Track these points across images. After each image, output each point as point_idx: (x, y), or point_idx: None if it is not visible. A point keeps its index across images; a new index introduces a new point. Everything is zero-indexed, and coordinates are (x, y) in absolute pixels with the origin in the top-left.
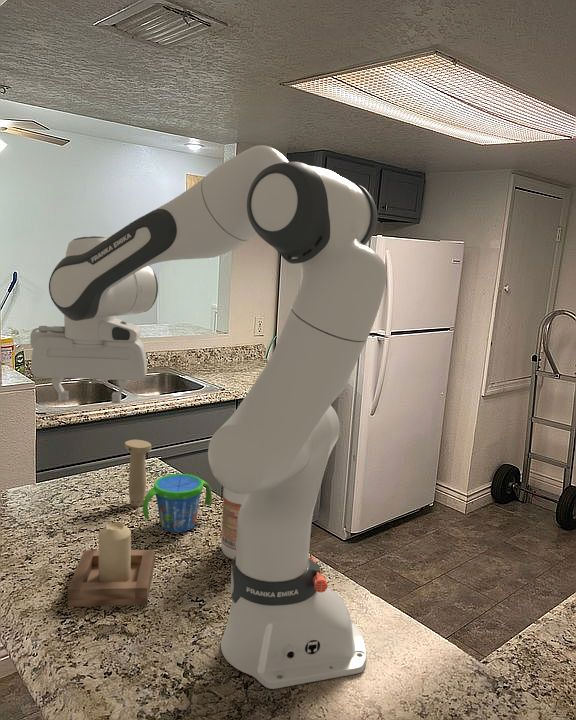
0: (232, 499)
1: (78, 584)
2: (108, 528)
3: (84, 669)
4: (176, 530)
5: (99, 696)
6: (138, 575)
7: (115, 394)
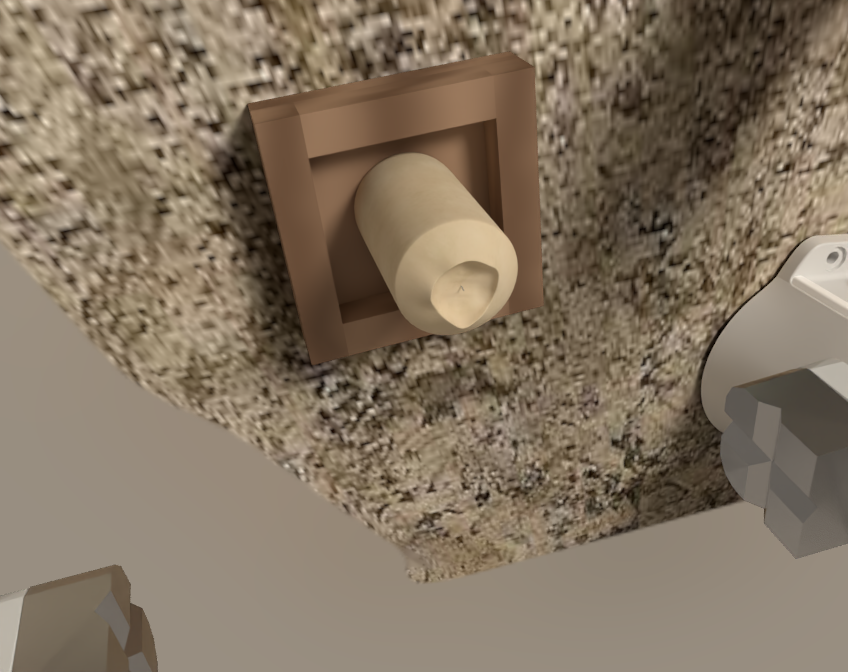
0: None
1: (334, 336)
2: (436, 292)
3: (432, 501)
4: None
5: (481, 543)
6: None
7: (840, 543)
